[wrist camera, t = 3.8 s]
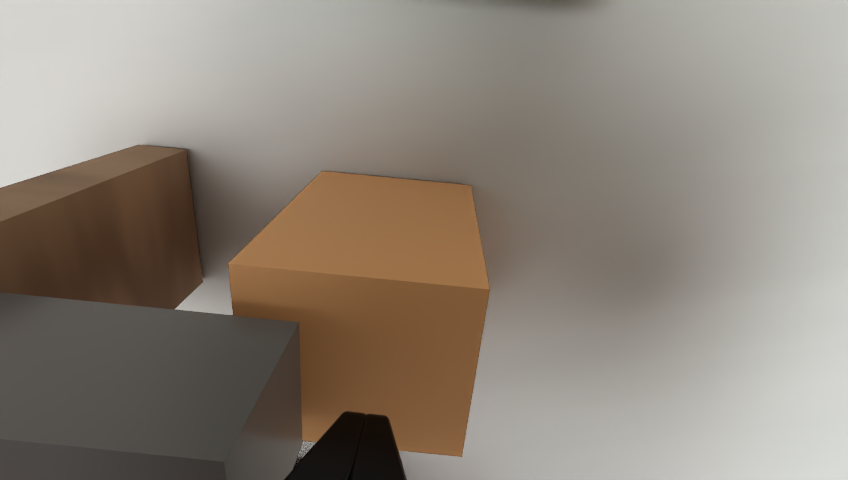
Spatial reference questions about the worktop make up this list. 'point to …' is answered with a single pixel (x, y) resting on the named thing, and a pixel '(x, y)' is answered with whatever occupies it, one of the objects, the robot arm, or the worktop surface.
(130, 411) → the dark gray block
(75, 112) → the worktop surface
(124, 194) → the wood grain block
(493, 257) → the worktop surface
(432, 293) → the orange brown block
